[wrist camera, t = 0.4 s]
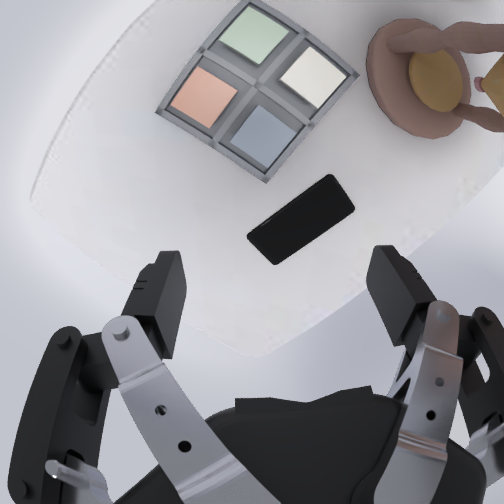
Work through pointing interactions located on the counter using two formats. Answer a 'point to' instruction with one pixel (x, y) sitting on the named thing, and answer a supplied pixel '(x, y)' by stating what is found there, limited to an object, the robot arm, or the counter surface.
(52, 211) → the counter surface
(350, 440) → the robot arm
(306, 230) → the smartphone
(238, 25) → the sage key
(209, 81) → the terracotta key
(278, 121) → the slate key
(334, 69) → the cream key
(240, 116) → the keypad
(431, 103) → the hourglass
